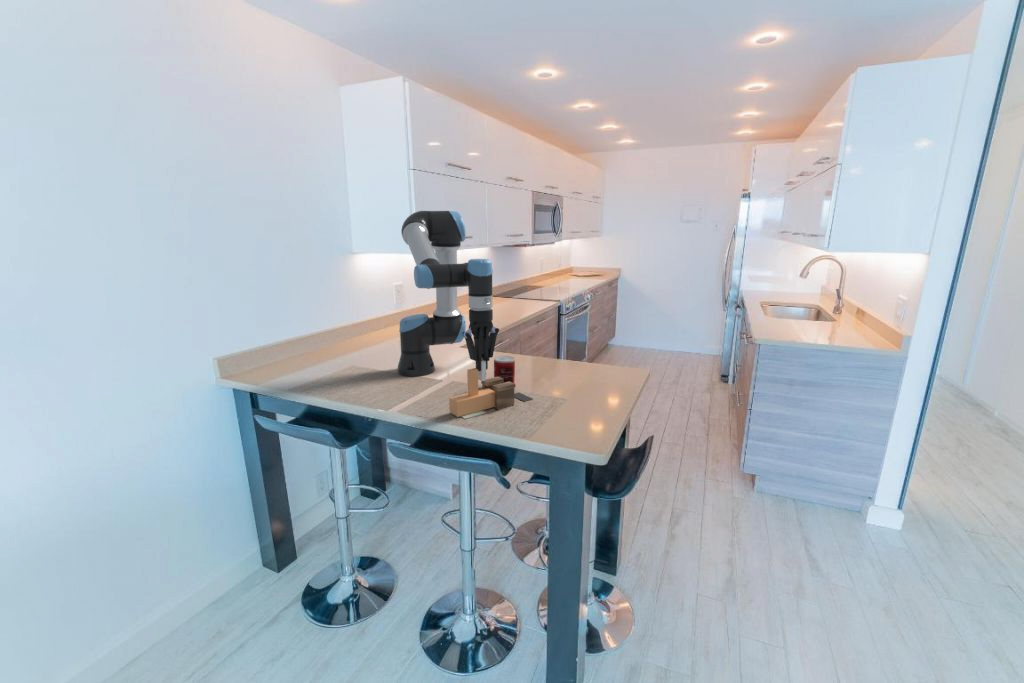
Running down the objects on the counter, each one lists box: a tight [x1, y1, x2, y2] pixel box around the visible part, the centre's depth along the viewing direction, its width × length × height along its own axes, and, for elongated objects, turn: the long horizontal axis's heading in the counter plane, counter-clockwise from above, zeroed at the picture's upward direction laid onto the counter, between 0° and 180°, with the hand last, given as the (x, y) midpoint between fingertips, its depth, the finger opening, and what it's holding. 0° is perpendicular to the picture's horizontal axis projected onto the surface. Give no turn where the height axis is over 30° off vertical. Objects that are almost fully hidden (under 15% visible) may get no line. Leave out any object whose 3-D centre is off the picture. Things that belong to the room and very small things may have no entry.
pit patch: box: [514, 392, 533, 403], centre depth 165 cm, size 8×4×1 cm, turn 37°
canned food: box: [493, 355, 516, 385], centre depth 175 cm, size 8×8×11 cm
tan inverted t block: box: [448, 367, 495, 418], centre depth 151 cm, size 5×15×14 cm, turn 127°
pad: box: [460, 410, 487, 420], centre depth 152 cm, size 9×8×1 cm
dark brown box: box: [480, 376, 516, 410], centre depth 158 cm, size 10×7×8 cm
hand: (481, 379), depth 153 cm, fingers closed
